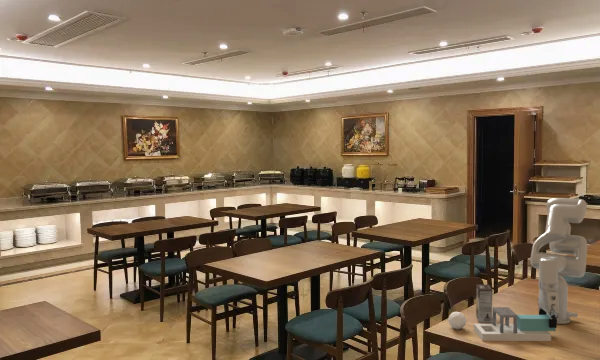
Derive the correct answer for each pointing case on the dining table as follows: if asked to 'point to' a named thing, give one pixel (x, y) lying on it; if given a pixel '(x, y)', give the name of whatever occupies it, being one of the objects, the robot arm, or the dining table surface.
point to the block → (534, 323)
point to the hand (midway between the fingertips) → (547, 323)
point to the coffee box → (484, 303)
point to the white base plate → (509, 333)
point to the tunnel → (505, 313)
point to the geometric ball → (457, 320)
